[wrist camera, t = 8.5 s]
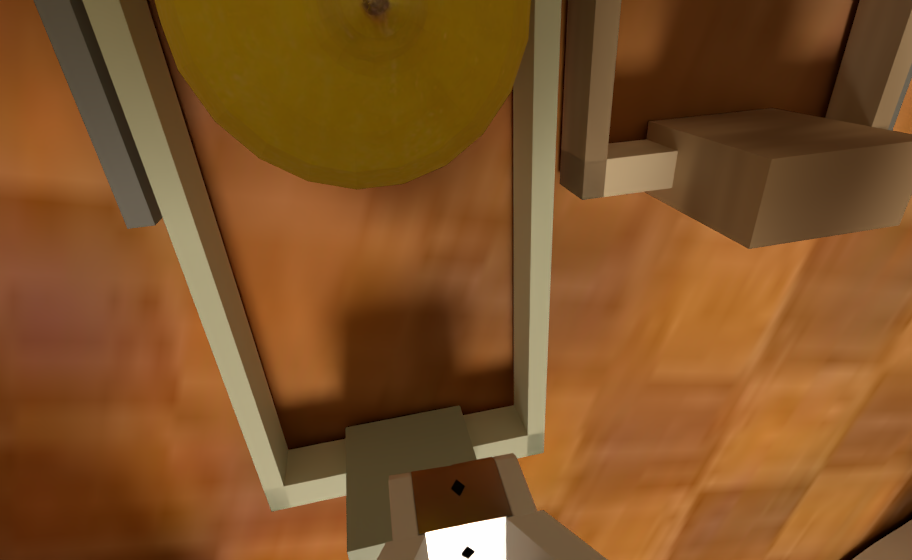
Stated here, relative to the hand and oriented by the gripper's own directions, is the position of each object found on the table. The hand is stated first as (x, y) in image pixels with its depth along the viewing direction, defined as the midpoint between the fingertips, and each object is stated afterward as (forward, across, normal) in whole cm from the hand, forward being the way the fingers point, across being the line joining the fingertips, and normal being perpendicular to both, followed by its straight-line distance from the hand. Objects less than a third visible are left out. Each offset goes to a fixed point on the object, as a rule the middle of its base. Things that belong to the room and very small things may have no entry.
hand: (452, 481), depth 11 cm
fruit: (+5, -1, +10) cm, 11 cm away
